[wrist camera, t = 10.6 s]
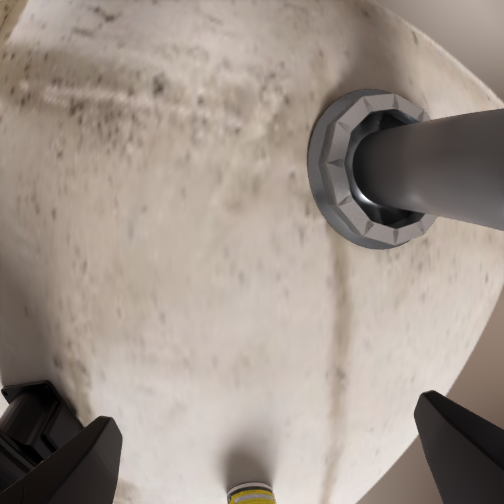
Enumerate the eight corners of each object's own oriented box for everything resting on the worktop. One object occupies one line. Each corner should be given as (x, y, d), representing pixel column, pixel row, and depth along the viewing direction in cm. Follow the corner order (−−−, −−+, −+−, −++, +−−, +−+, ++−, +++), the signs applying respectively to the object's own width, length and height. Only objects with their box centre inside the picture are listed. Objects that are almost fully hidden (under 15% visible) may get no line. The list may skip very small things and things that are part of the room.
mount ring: (329, 269, 20) (339, 277, 18) (286, 101, 17) (294, 93, 15) (448, 225, 21) (463, 229, 19) (420, 86, 18) (435, 81, 16)
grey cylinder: (346, 204, 19) (535, 251, 6) (351, 121, 18) (534, 72, 5) (412, 211, 20) (581, 255, 7) (416, 137, 19) (585, 126, 6)
